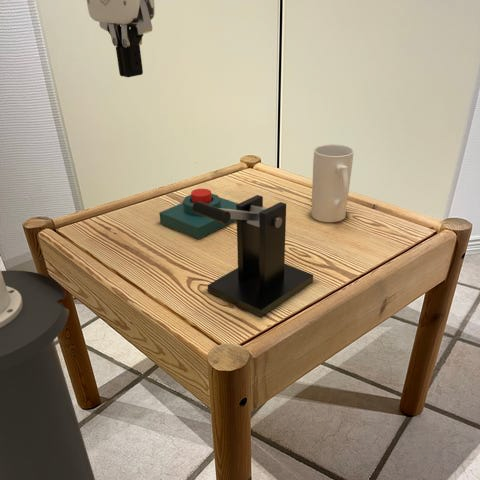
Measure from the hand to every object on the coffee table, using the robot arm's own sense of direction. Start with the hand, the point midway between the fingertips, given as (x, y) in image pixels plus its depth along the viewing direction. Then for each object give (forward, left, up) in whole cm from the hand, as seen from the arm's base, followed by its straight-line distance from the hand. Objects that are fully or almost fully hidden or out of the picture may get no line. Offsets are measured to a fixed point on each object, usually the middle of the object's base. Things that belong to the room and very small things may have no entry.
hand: (131, 75), depth 77 cm
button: (+8, -5, -21) cm, 23 cm away
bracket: (-3, -28, -25) cm, 38 cm away
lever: (-8, -28, -13) cm, 32 cm away
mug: (+23, -23, -25) cm, 41 cm away
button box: (+8, -5, -25) cm, 27 cm away
